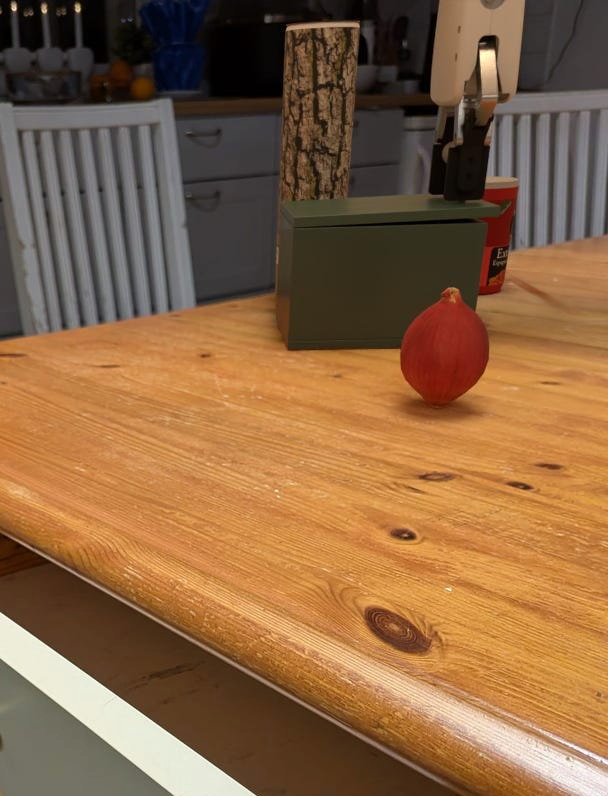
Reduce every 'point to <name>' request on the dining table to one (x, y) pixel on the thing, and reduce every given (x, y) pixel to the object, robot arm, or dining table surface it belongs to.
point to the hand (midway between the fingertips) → (454, 194)
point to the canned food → (498, 232)
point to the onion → (445, 350)
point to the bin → (371, 279)
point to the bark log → (317, 111)
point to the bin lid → (384, 209)
